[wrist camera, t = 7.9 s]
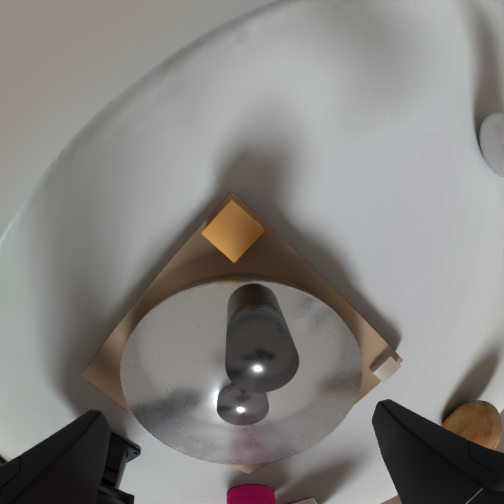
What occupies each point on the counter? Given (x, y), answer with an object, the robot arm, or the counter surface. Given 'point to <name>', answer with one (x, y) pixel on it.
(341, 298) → the dial base
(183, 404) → the dial
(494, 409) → the onion
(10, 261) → the counter surface
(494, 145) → the plastic bottle
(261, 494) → the pepper mill
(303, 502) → the skincare box
